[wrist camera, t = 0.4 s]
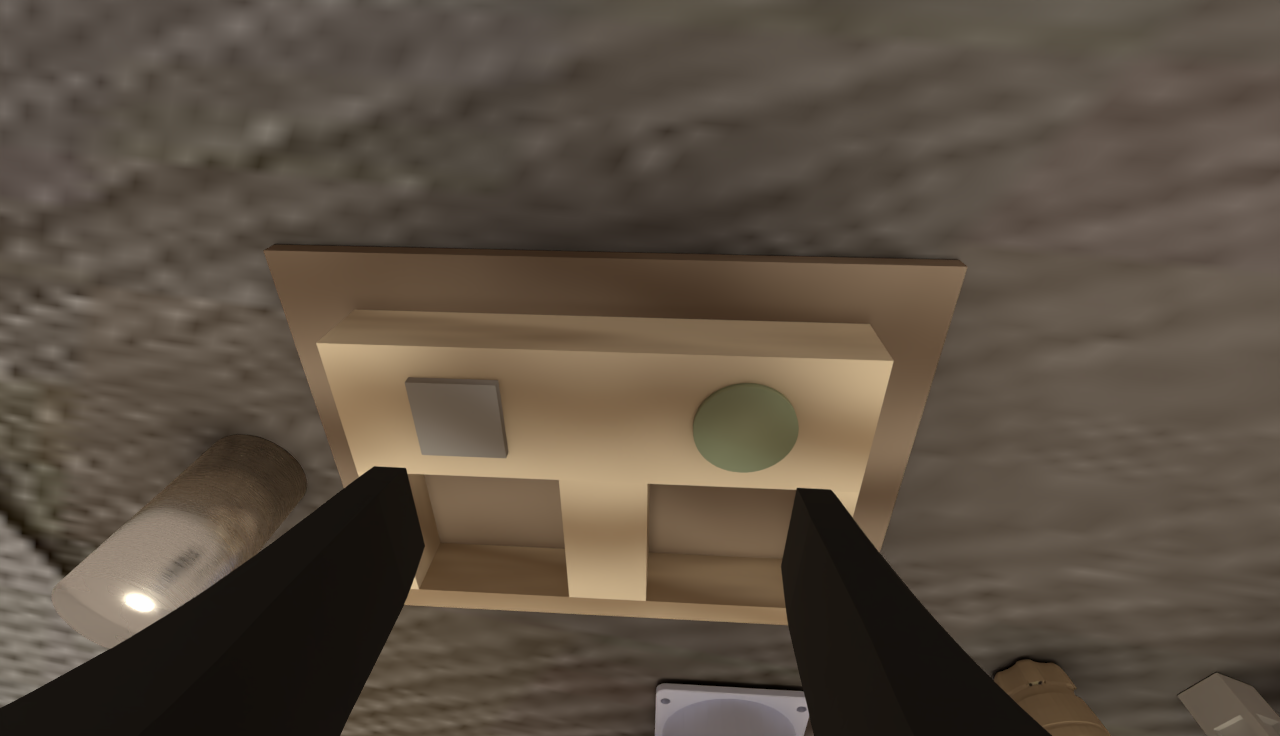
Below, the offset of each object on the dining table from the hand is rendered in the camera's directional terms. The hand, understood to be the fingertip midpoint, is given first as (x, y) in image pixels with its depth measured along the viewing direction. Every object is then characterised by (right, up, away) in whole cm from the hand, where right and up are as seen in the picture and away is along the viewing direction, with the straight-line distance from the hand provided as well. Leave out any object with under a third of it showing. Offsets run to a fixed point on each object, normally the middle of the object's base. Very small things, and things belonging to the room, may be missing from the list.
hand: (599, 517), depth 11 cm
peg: (-15, -2, +13) cm, 20 cm away
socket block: (0, 0, +12) cm, 12 cm away
